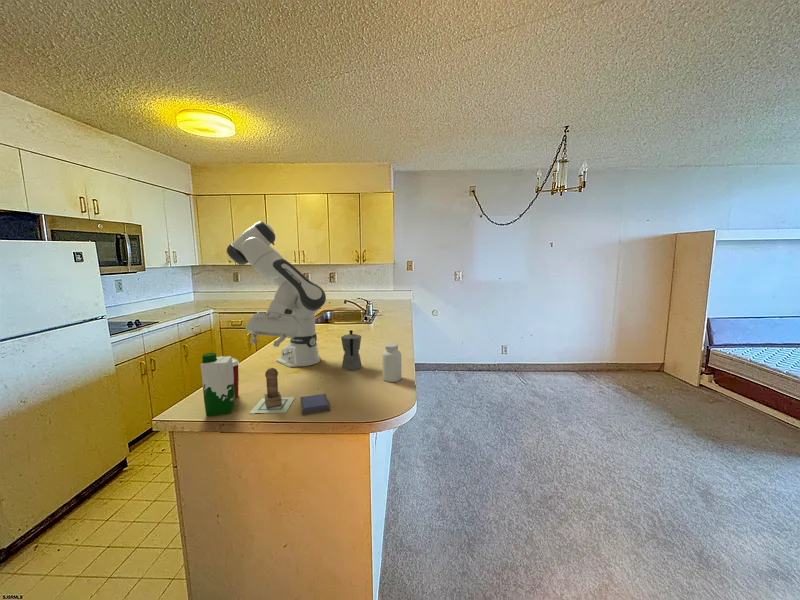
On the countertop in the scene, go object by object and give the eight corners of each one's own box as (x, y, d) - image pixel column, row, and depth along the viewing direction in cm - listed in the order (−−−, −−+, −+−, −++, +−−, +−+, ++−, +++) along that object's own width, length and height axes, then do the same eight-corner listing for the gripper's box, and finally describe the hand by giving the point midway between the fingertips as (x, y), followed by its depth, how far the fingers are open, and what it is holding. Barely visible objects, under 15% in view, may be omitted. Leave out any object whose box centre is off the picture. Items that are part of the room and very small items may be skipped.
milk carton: (209, 407, 115) (204, 351, 113) (237, 403, 118) (233, 349, 115) (202, 418, 107) (197, 359, 104) (232, 414, 109) (228, 356, 107)
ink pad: (300, 401, 119) (300, 396, 119) (325, 398, 122) (325, 392, 122) (302, 415, 109) (301, 409, 108) (329, 411, 112) (329, 405, 111)
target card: (262, 398, 122) (262, 397, 122) (295, 397, 122) (295, 396, 122) (249, 413, 110) (249, 412, 110) (285, 412, 111) (285, 411, 111)
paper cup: (237, 391, 129) (234, 356, 127) (244, 397, 123) (242, 361, 122) (215, 397, 123) (212, 361, 122) (221, 403, 118) (218, 365, 116)
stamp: (265, 403, 117) (262, 367, 115) (279, 400, 119) (278, 365, 118) (266, 409, 113) (264, 371, 111) (281, 406, 115) (279, 369, 113)
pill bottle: (379, 379, 141) (378, 345, 139) (392, 374, 147) (391, 341, 145) (392, 384, 135) (392, 348, 133) (405, 378, 141) (405, 344, 139)
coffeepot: (342, 363, 162) (341, 327, 160) (361, 362, 163) (360, 327, 161) (341, 374, 147) (340, 335, 145) (362, 373, 148) (361, 334, 146)
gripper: (251, 307, 130) (235, 337, 122) (298, 311, 126) (285, 343, 118) (258, 316, 135) (243, 345, 127) (304, 320, 131) (291, 351, 123)
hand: (264, 344), depth 123 cm, fingers open, 8 cm apart
